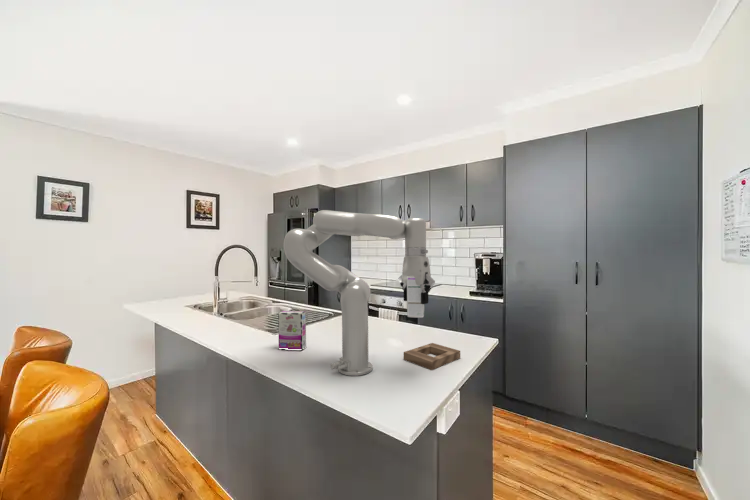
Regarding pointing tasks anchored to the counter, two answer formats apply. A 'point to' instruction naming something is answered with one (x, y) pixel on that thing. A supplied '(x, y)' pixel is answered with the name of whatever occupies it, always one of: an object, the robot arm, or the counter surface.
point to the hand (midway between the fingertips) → (415, 301)
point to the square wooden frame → (429, 362)
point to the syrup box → (414, 299)
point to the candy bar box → (292, 329)
